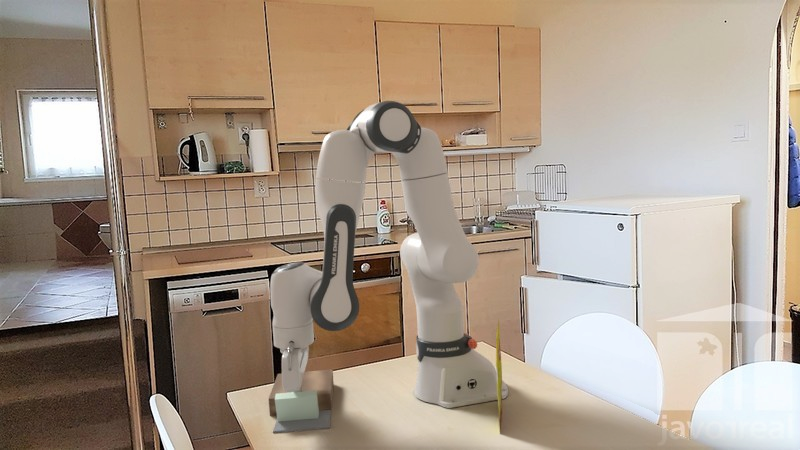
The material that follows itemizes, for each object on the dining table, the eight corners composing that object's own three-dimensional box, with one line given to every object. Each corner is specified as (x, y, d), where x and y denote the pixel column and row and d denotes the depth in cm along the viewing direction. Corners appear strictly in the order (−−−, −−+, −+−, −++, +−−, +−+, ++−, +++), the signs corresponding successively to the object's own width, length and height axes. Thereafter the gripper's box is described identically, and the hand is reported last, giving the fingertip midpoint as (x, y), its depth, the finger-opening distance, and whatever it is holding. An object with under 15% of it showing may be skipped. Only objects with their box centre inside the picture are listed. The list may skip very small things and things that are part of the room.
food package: (502, 434, 116) (499, 338, 114) (496, 434, 116) (493, 338, 114) (504, 403, 131) (501, 317, 129) (499, 402, 131) (496, 317, 129)
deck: (333, 384, 147) (332, 369, 147) (331, 410, 132) (330, 393, 131) (278, 388, 146) (277, 373, 146) (269, 415, 130) (268, 398, 130)
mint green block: (316, 390, 127) (316, 396, 125) (318, 412, 129) (318, 418, 127) (275, 393, 126) (274, 399, 124) (278, 415, 128) (277, 421, 126)
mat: (331, 411, 131) (331, 409, 131) (329, 428, 123) (329, 426, 123) (278, 415, 130) (278, 414, 130) (273, 432, 122) (273, 431, 122)
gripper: (303, 349, 117) (308, 413, 118) (311, 322, 137) (315, 377, 139) (272, 351, 116) (277, 416, 118) (284, 324, 137) (289, 380, 138)
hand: (297, 395), depth 128 cm, fingers closed
